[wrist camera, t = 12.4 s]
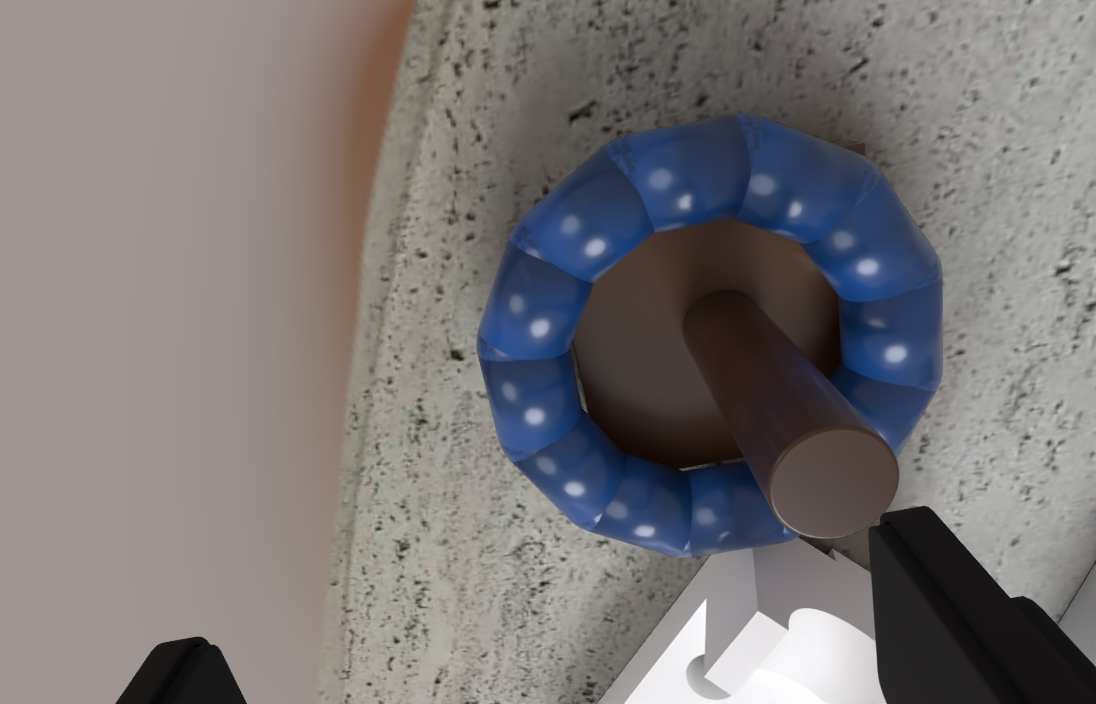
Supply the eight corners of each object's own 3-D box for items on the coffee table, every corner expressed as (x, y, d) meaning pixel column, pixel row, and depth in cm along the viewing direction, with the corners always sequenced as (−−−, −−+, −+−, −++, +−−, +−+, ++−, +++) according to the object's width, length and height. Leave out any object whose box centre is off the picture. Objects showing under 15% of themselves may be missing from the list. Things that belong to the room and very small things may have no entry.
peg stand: (544, 204, 22) (538, 303, 12) (844, 138, 21) (1103, 185, 11) (600, 461, 25) (632, 709, 15) (863, 411, 24) (1080, 636, 14)
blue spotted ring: (442, 167, 20) (426, 178, 17) (911, 74, 19) (964, 72, 17) (532, 549, 24) (530, 600, 22) (917, 487, 23) (960, 534, 21)
